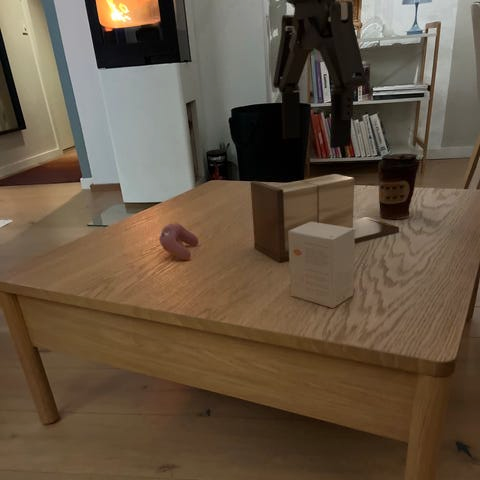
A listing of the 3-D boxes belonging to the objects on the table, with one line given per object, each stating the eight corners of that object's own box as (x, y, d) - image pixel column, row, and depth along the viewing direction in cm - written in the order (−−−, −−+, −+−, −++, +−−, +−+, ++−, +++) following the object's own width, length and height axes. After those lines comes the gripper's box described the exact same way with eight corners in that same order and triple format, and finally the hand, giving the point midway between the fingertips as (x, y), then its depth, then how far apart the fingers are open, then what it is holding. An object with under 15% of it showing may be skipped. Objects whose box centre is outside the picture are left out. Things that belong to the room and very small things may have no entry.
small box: (354, 296, 72) (356, 228, 67) (332, 309, 68) (333, 239, 63) (311, 283, 77) (310, 220, 72) (289, 295, 73) (287, 229, 69)
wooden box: (399, 231, 96) (404, 165, 90) (279, 262, 86) (276, 190, 80) (366, 221, 104) (369, 159, 98) (254, 248, 94) (249, 181, 88)
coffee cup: (409, 223, 101) (415, 159, 95) (370, 220, 105) (373, 159, 99) (418, 212, 107) (424, 151, 101) (381, 209, 111) (384, 151, 105)
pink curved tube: (183, 251, 100) (164, 223, 98) (201, 241, 99) (182, 212, 96) (172, 269, 92) (151, 239, 89) (192, 258, 90) (171, 227, 88)
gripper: (246, -18, 69) (255, 137, 79) (346, -64, 48) (340, 155, 58) (292, -19, 71) (294, 132, 81) (406, -63, 50) (390, 147, 60)
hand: (313, 142), depth 69 cm, fingers open, 13 cm apart
